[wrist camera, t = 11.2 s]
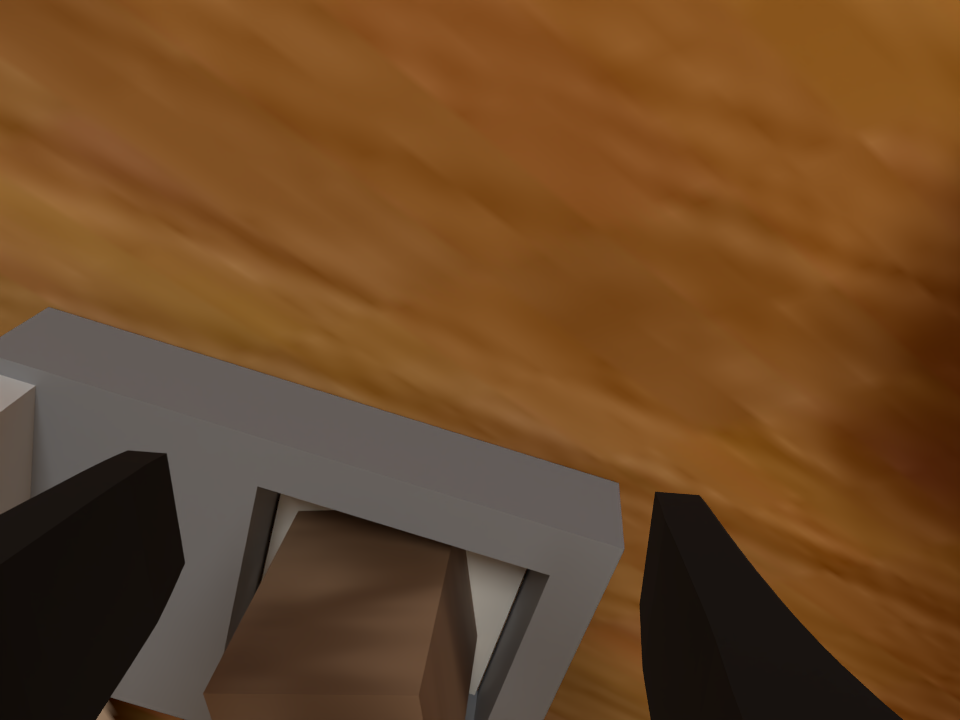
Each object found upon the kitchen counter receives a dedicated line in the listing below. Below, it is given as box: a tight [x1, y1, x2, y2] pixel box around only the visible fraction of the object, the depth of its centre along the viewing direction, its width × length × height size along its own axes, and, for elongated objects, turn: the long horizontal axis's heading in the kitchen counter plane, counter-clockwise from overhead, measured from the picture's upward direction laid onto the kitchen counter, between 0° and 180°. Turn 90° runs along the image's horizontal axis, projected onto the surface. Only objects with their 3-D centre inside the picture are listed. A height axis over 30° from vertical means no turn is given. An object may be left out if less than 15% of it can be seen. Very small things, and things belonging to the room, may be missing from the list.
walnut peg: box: [203, 510, 477, 720], centre depth 22 cm, size 5×5×7 cm
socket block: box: [0, 307, 624, 720], centre depth 21 cm, size 18×11×10 cm, turn 74°
